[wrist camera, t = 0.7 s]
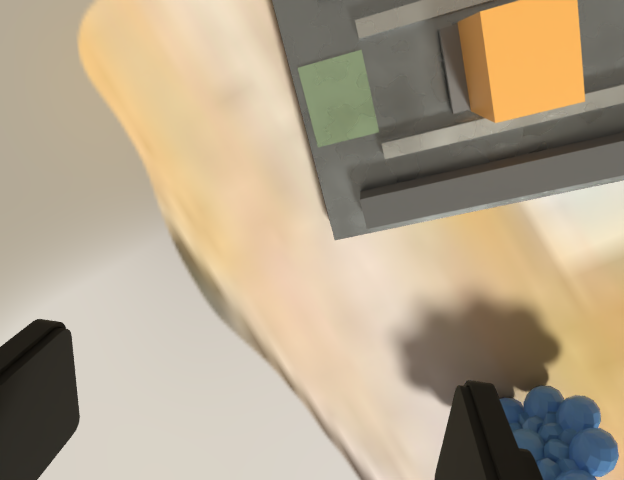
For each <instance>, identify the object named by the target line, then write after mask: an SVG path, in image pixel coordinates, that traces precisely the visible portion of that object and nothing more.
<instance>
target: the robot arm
mask: <svg viewBox="0 0 624 480" xmlns="http://www.w3.org/2000/svg"><path fill="white" fill-rule="evenodd" d="M79 418H80V415H79V406H78V396H77V387H76V376H75V366H74V356H73V347H72V336H71V332H70V330H68V329H66V327H65V325H64V324H63V323H62V322H57V321H49V320H43V319H37V320H35V321H33V322H32V323H31V324H29V325H28V326H27V327H26V328H24V329H23V330H21V331H20V332H19V333H18V334H16V335H15V336H14V337H13V338H11V339H10V340H9V341H7V342H6V343H5V344H3V345H2V346H1V347H0V480H37V479H38V478H39V477H40V475H41V474H42V473H43V472H44V470H45V469H46V468H47V467H48V465H49V464H50V463H51V462H52V460H53V459H54V458H55V456H56V455H57V454H58V453H59V451H60V450H61V449H62V448H63V446H64V445H65V444H66V443H67V441H68V440H69V439H70V438H71V436H72V435H73V434H74V432H75V431H76V429H77V426H78V424H79ZM435 480H543V478H542V475H541V473H540V470H539V468H538V466H537V463H536V461H535V459H534V457H533V455H532V453H531V452H530V451H529V450H528V449H522V448H518V445H517V443H516V440H515V438H514V435H513V432H512V430H511V427H510V425H509V422H508V420H507V417H506V415H505V412H504V409H503V407H502V404H501V402H500V399H499V397H498V394H497V391H496V389H495V387H494V385H493V384H490V383H483V382H476V381H469V380H468V381H466V383H465V385H464V386H457V388H456V391H455V395H454V399H453V403H452V407H451V411H450V415H449V419H448V423H447V427H446V432H445V436H444V440H443V444H442V448H441V452H440V456H439V460H438V464H437V468H436V473H435Z"/></svg>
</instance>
